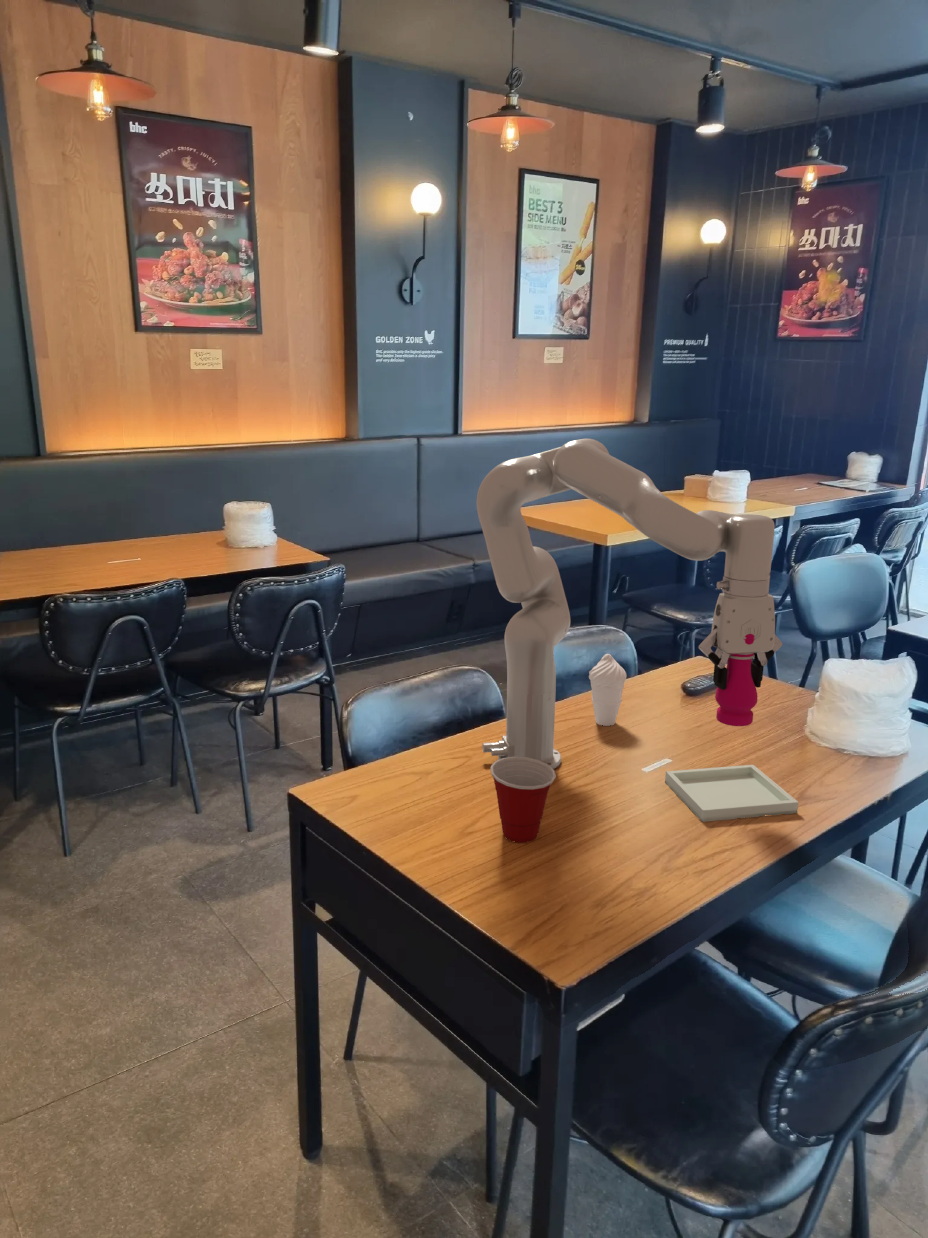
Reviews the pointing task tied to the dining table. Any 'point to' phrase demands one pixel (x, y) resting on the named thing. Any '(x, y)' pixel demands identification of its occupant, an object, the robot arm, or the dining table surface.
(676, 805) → the dining table surface
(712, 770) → the tray
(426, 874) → the dining table surface
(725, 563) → the robot arm
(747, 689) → the pepper mill
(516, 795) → the plastic cup
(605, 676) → the soft serve ice cream cone
